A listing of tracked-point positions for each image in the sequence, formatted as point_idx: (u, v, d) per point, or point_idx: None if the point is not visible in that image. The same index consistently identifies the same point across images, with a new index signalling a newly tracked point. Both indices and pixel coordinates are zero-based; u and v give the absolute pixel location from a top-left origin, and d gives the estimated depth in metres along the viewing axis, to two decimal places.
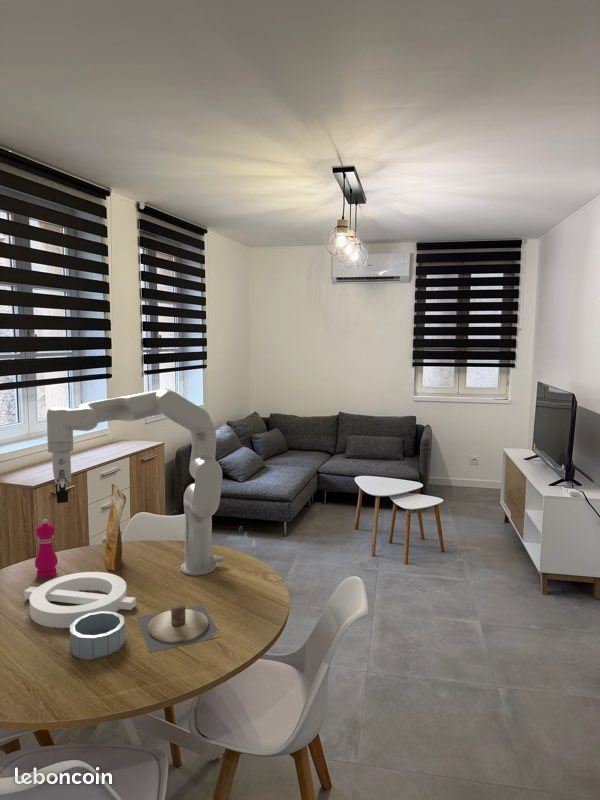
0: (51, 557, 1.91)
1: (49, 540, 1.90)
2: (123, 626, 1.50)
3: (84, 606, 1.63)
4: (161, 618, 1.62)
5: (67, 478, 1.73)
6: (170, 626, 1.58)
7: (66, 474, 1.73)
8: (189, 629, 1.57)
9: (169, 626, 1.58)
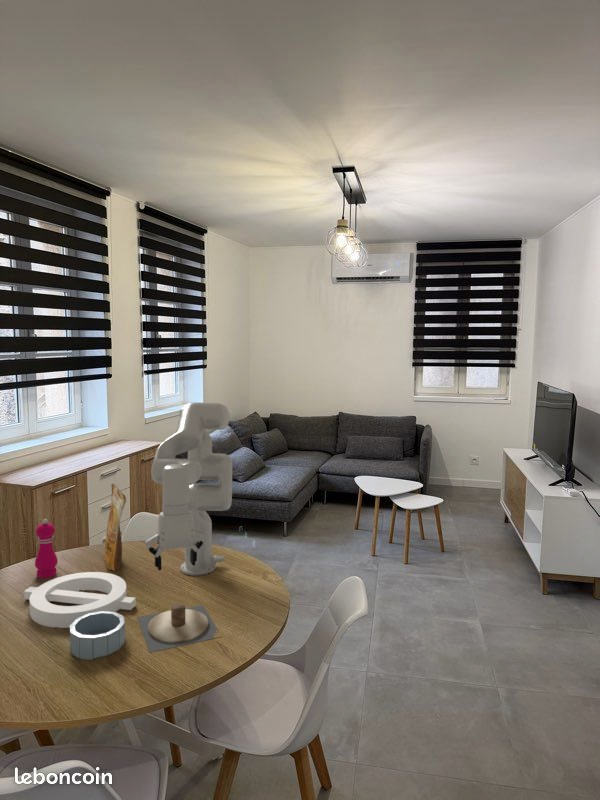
0: (51, 557, 1.91)
1: (49, 540, 1.90)
2: (123, 626, 1.50)
3: (84, 606, 1.63)
4: (161, 618, 1.62)
5: None
6: (170, 626, 1.58)
7: None
8: (189, 629, 1.57)
9: (169, 626, 1.58)
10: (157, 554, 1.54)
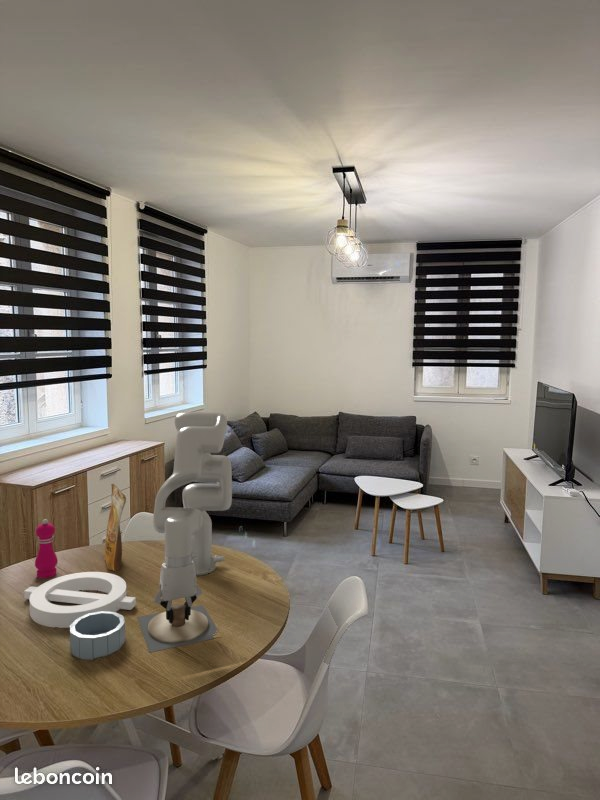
0: (51, 557, 1.91)
1: (49, 540, 1.90)
2: (123, 626, 1.50)
3: (84, 606, 1.63)
4: (161, 618, 1.62)
5: None
6: (170, 626, 1.58)
7: None
8: (189, 629, 1.57)
9: (169, 626, 1.58)
10: (168, 608, 1.57)
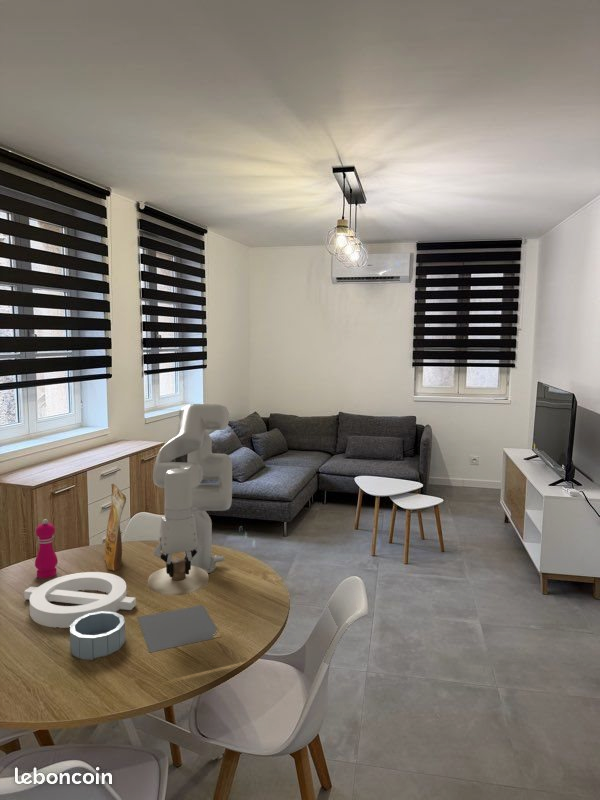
0: (51, 557, 1.91)
1: (49, 540, 1.90)
2: (123, 626, 1.50)
3: (84, 606, 1.63)
4: (161, 573, 1.61)
5: None
6: (170, 580, 1.57)
7: None
8: (189, 583, 1.56)
9: (170, 580, 1.57)
10: (168, 561, 1.55)
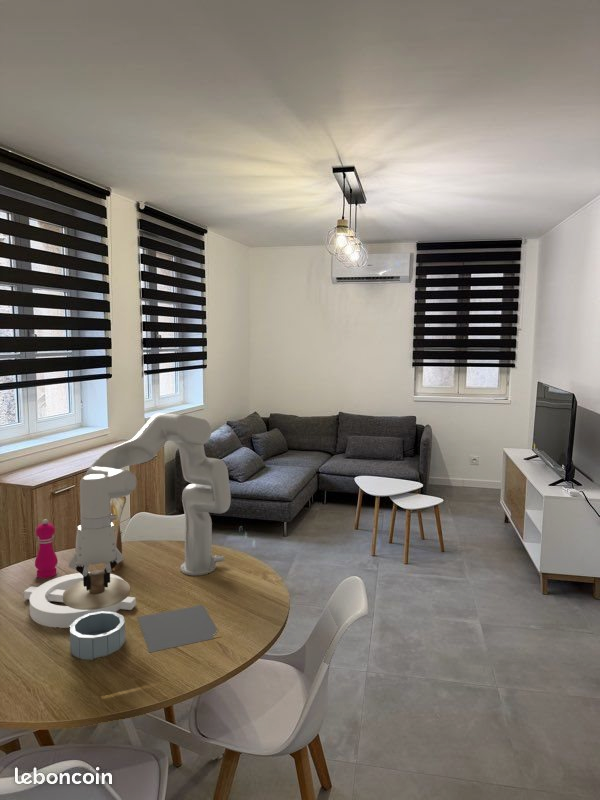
0: (51, 557, 1.91)
1: (49, 540, 1.90)
2: (123, 626, 1.50)
3: None
4: (80, 586, 1.51)
5: None
6: (87, 593, 1.47)
7: None
8: (107, 596, 1.46)
9: (86, 593, 1.47)
10: (84, 573, 1.46)
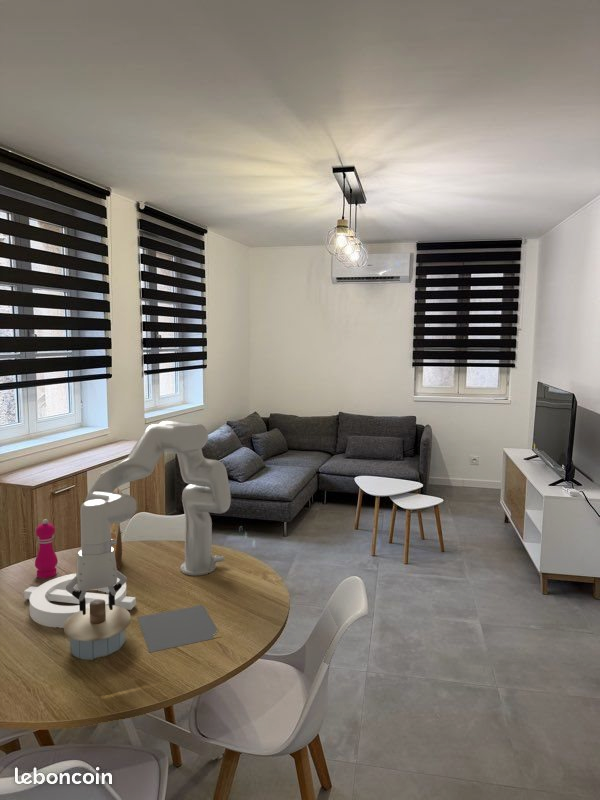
0: (51, 557, 1.91)
1: (49, 540, 1.90)
2: None
3: None
4: (81, 615, 1.52)
5: None
6: (88, 623, 1.48)
7: None
8: (108, 626, 1.47)
9: (87, 623, 1.48)
10: (81, 598, 1.46)
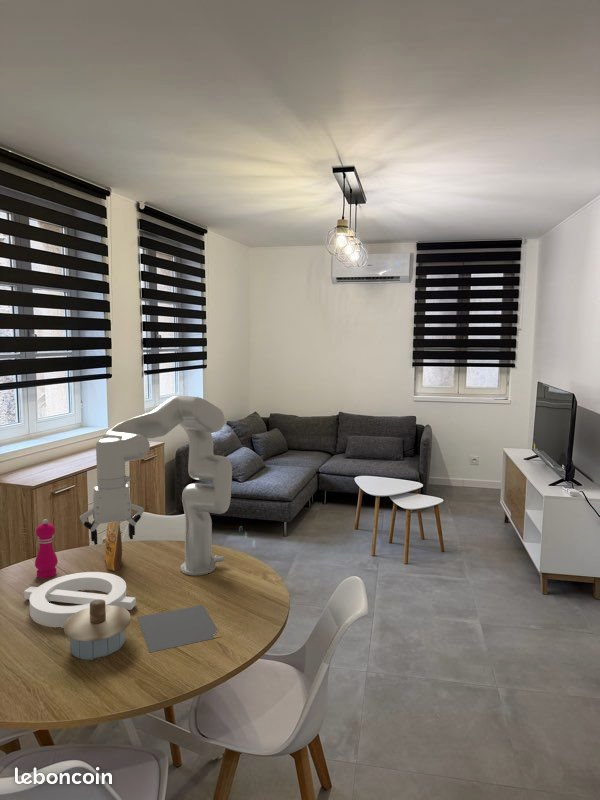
0: (52, 557, 1.91)
1: (49, 540, 1.90)
2: None
3: (84, 606, 1.63)
4: (81, 615, 1.52)
5: None
6: (88, 623, 1.48)
7: None
8: (108, 626, 1.47)
9: (87, 623, 1.48)
10: (92, 528, 1.53)
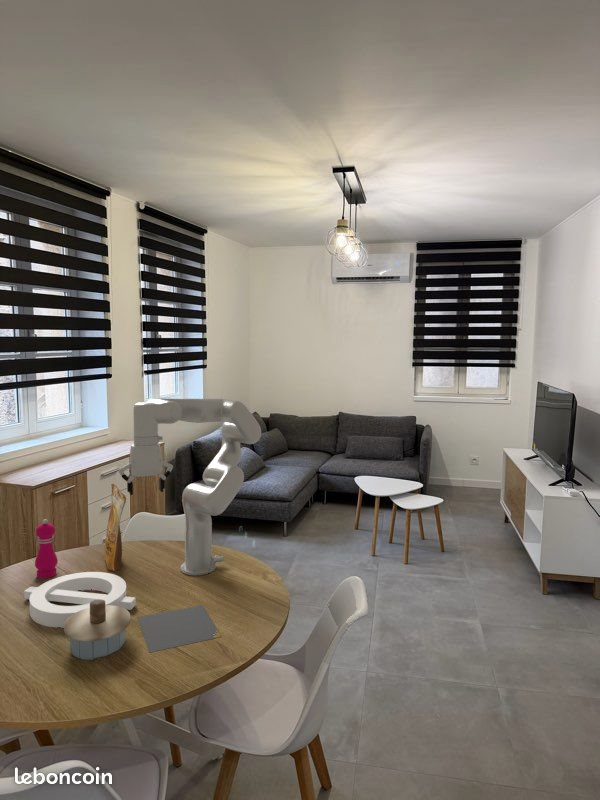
0: (51, 557, 1.91)
1: (49, 540, 1.90)
2: None
3: (84, 606, 1.63)
4: (81, 615, 1.52)
5: None
6: (88, 623, 1.48)
7: None
8: (108, 626, 1.47)
9: (87, 623, 1.48)
10: (129, 480, 1.76)
